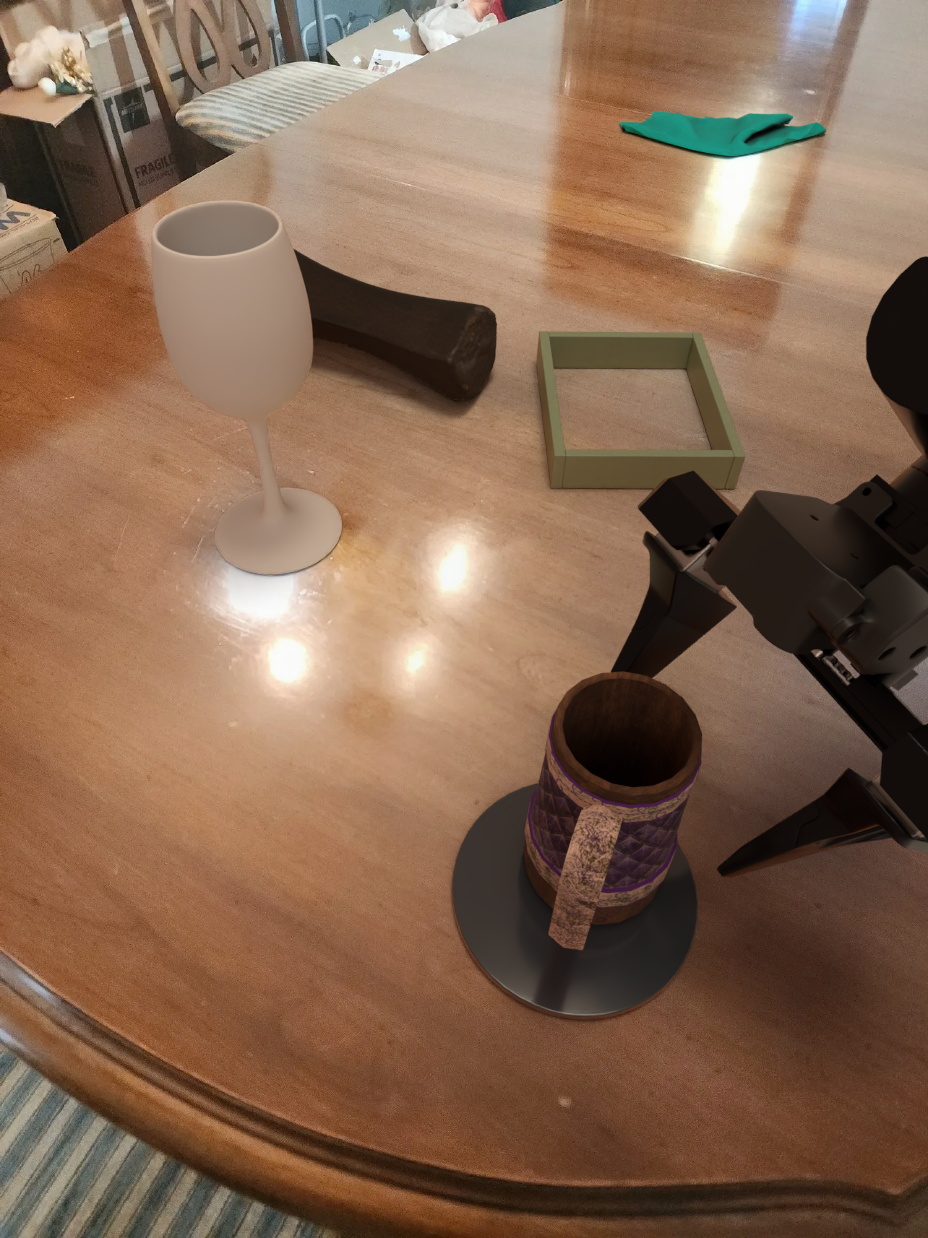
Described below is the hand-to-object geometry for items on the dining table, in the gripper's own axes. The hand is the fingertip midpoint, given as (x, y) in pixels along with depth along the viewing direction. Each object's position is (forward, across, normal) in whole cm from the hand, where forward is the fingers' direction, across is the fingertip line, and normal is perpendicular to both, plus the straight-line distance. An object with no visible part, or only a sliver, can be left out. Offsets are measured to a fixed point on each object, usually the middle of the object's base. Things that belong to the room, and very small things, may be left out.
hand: (659, 781), depth 37 cm
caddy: (-8, -32, +20) cm, 39 cm away
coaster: (+8, 0, +4) cm, 9 cm away
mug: (+8, 0, +4) cm, 9 cm away
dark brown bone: (+5, -51, +8) cm, 52 cm away
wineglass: (+13, -31, 0) cm, 34 cm away
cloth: (-38, -79, +51) cm, 101 cm away
